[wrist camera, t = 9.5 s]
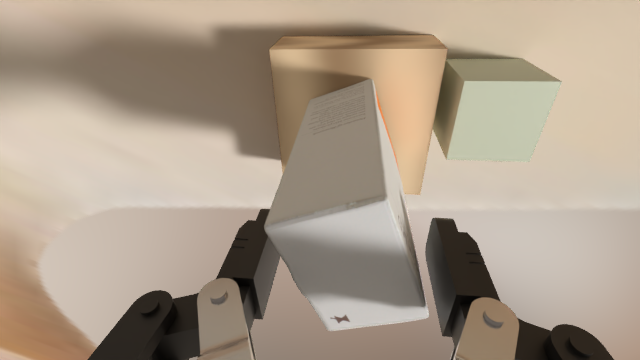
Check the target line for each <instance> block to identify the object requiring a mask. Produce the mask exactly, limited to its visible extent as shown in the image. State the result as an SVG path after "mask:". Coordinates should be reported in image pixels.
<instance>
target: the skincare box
mask: <svg viewBox="0 0 640 360" xmlns="http://www.w3.org/2000/svg"><path fill="white" fill-rule="evenodd" d="M264 229H265V232H266V233H267V235H268V237H269V238H270V240H271V241H272V243H273V245H274V246H275V248H276V249H277V251H278V253H279V254H280V256H281V257H282V259H283V260H284V262H285V263H286V265H287V267H288V268H289V271H290V273H291V275H292V278H293V280H294V281H295V283H296V285H297V287H298V288H299V290H300V291H301V293H302V294H303V295H304V296H305V297H306V298H307V299H308V301H309V302H310V304H311V305H312V307H313V308H314V310H315V311H316V313H317V314H318V316H319V317H320V319H321V321H322V322H323V324H324V325H325V327H326V328H327V330H329V331H337V330H344V329H352V328H359V327H367V326H377V325H385V324H393V323H401V322H407V321H414V320H420V319H425V318H427V317H428V316H429V312H428V307H427V303H426V298H425V293H424V287H423V282H422V277H421V273H420V268H419V264H418V258H417V254H416V249H415V244H414V239H413V234H412V229H411V225H410V219H409V214H408V209H407V205H406V200H405V195H404V191H403V186H402V181H401V175H400V171H399V166H398V161H397V157H396V154H395V151H394V148H393V145H392V142H391V139H390V135H389V132H388V129H387V126H386V123H385V119H384V116H383V113H382V109H381V106H380V103H379V99H378V96H377V92H376V88H375V85H374V81H373V79H367V80H365V81H362V82H360V83H357V84H354V85H351V86H349V87H346V88H343V89H340V90H337V91H334V92H331V93H328V94H325V95H322V96H319V97H316V98H314V99H311V100H310V101H309V103H308V106H307V109H306V112H305V115H304V117H303V120H302V123H301V126H300V128H299V131H298V134H297V137H296V140H295V143H294V145H293V148H292V151H291V154H290V156H289V159H288V162H287V165H286V168H285V170H284V173H283V176H282V179H281V182H280V184H279V187H278V190H277V192H276V195H275V198H274V200H273V203H272V206H271V209H270V211H269V214H268V216H267V219H266V222H265V225H264Z"/></svg>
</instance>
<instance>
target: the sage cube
mask: <svg viewBox="0 0 640 360" xmlns="http://www.w3.org/2000/svg"><path fill="white" fill-rule="evenodd" d="M561 83H562V81H560V80H558V79H557V78H555V77H553V76H551V75H550V74H548V73H546V72H545V71H543V70H541V69H540V68H538V67H536V66H534V65H533V64H531V63H529V62H528V61H526V60H524V59H446V61H445V66H444V71H443V76H442V82H441V87H440V92H439V97H438V103H437V108H436V113H435V118H434V124H433V130H434V133H435V135H436V137H437V139H438V142H439V144H440V146H441V148H442V151H443V153H444V155H445V157H446V160H478V161H512V162H530V160H531V157H532V155H533V152H534V150H535V147H536V145H537V142H538V140H539V137H540V135H541V132H542V130H543V127H544V125H545V122H546V120H547V117H548V115H549V112H550V110H551V107H552V105H553V102H554V100H555V98H556V95H557V93H558V90H559V88H560V85H561Z"/></svg>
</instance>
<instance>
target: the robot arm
mask: <svg viewBox="0 0 640 360" xmlns="http://www.w3.org/2000/svg"><path fill="white" fill-rule="evenodd" d="M269 211H270V209H261V210H260V212H259V214H258V217H257V219H256V221H252V220H251V221H250V220H248V221H247V222H246V223H245V224H244V225H243V226H242V227H241V228H239V231H238V233H237V235H236V237H235V240H234V241H233V244H232V246H231V248H230V250H229V252H228V254H227V257H226V259H225V261H224V263H223V265H222V267H221V269H220V272H219V274H218V276H217V278H216V279H215V280H213V281H211V282H209V283H208V284H206V285H205V286H204V287H203V288H202V289H201V291H200V292H199V293H197V294H194V295H189V296H185V297H180V298H175V299H172V297H171V295H170V294H169V293H168V292H166V291H161V290H159V291H152V292H149V293H147V294H145V295H143V296H141V297H140V298H138V299H137V300H136V301H135V302H134V303H133V304H132V305H131V307H130V308H129V309H128V310H127V312H126V313H125V314H124V315H123V317H122V318H121V319H120V320H119V321H118V323H117V324H116V325H115V327H114V328H113V329H112V330H111V331H110V333H109V334H108V335H107V336H106V338H105V339H104V340H103V341H102V343H101V344H100V345H99V346H98V347H97V349H96V350H95V351H94V352H93V354H92V355H91V356H90V357H89V359H88V360H189V358H192V357H196V356H198V357H197V360H256V355H255V351H254V345H253V340H252V336H251V331H250V330H251V327H252V324H253V320H254V319H263V316H264V313H265V309H266V305H267V302H268V298H269V295H270V291H271V288H272V284H273V280H274V277H275V273H276V270H277V266H278V263H279V259H280V254H279V253H278V251H277V249H276V248H275V246H274V245H273V243H272V241H271V240H270V238H269V237H268V235H267V233H266V232H265V229H264V225H265V222H266V219H267V216H268V214H269ZM426 261H427V267H428V271H429V276H430V280H431V285H432V290H433V295H434V299H435V304H436V309H437V313H438V318H439V323H440V327H441V332H442V336H448V337H452V338H453V342H454V349H453V352H452V354H451V358H450V360H614V359H613V358H612V356H611V355H610V354H609V352H608V351H607V350H606V348H605V347H604V346H603V345H602V344H601V343H600V341H599V340H598V339H597V338H595V337H594V336H593V335H591V334H590V333H588V332H587V331H585V330H583V329H581V328H579V327H576V326H573V325H567V324H562V325H558V326H556V327H554V328H553V330H552V331H550V330H547V329H544V328H541V327H538V326H535V325H532V324H529V323H527V322H524V321H522V320H520V319H518V318H517V317H516V315H515V313H514V312H513V311H512V310H511V309H510V308H509V307H508V306H507V305H505V304H503V303H502V302H501V301H500V299H499V297H498V294H497V292H496V289H495V287H494V284H493V282H492V280H491V277H490V275H489V272H488V270H487V268H486V265H485V264H484V263H485V262H484V260H483V258H482V256H481V253H480V250H479V248H478V245H477V243H476V242H475V241H474V240H473V238H472V237H471V236H470V235H469V234H468V233H464V232H458V230H457V227H456V224H455V222H454V220H453V219H447V218H433V219H432V221H431V225H430V230H429V234H428V239H427V243H426Z"/></svg>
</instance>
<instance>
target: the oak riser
mask: <svg viewBox="0 0 640 360" xmlns="http://www.w3.org/2000/svg"><path fill="white" fill-rule="evenodd" d="M447 50H448V49H447V48H446V47H445V46H444V45H443V44H442V43H441V42H440V41H439V40H438V39H437V38H436V37H435V36H434V35H388V36H283V37H282V38H281V39H280V40H279V41H278V42H276V43H275V44H274V45H273V46H272V47H271V48H270V49H269V52H270V62H271V71H272V80H273V89H274V98H275V107H276V116H277V126H278V135H279V144H280V153H281V162H282V171H283V173H284V170H285V168H286V165H287V162H288V159H289V156H290V154H291V151H292V148H293V145H294V143H295V140H296V137H297V134H298V131H299V128H300V126H301V123H302V120H303V117H304V115H305V112H306V109H307V106H308V103H309V101H310V100H311V99H314V98H316V97H319V96H322V95H325V94H328V93H331V92H334V91H337V90H340V89H343V88H346V87H349V86H351V85H354V84H357V83H360V82H362V81H365V80H367V79H373V81H374V85H375V88H376V92H377V96H378V99H379V103H380V106H381V109H382V113H383V116H384V119H385V123H386V126H387V129H388V132H389V135H390V139H391V142H392V145H393V148H394V151H395V154H396V157H397V161H398V166H399V171H400V175H401V181H402V186H403V191H404V194H415V195H420V192H421V187H422V182H423V176H424V171H425V166H426V161H427V155H428V150H429V145H430V139H431V134H432V129H433V124H434V118H435V113H436V108H437V103H438V97H439V92H440V87H441V82H442V76H443V71H444V66H445V61H446V55H447Z"/></svg>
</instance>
